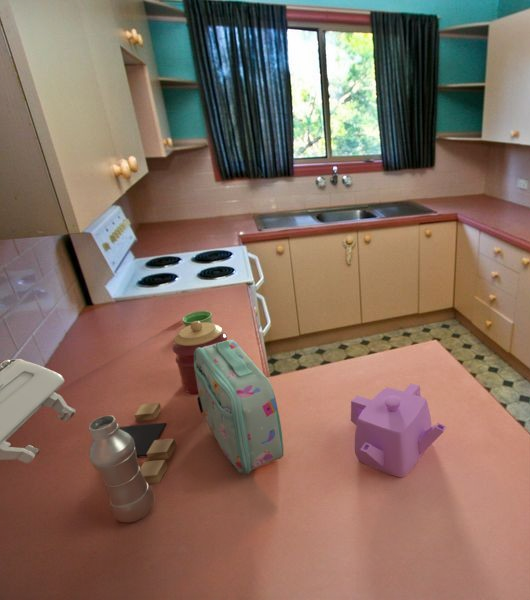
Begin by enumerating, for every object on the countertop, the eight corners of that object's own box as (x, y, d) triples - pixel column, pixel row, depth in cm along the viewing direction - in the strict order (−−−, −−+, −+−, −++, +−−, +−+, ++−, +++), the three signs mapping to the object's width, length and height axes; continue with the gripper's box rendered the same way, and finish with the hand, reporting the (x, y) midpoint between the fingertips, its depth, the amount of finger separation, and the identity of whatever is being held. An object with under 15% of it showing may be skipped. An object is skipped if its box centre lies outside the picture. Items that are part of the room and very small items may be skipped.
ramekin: (219, 327, 143) (216, 315, 141) (192, 337, 137) (189, 325, 135) (206, 319, 148) (204, 308, 147) (180, 329, 142) (177, 317, 140)
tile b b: (149, 461, 87) (146, 453, 86) (156, 447, 91) (154, 440, 90) (169, 459, 88) (166, 451, 87) (176, 445, 91) (174, 438, 90)
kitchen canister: (171, 391, 110) (153, 330, 102) (205, 364, 121) (191, 308, 114) (214, 398, 106) (199, 336, 99) (245, 370, 118) (233, 313, 111)
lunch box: (199, 420, 99) (177, 339, 90) (242, 401, 105) (226, 324, 96) (243, 490, 80) (220, 395, 71) (293, 462, 86) (278, 372, 77)
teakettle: (418, 414, 98) (417, 369, 93) (448, 467, 83) (450, 416, 78) (346, 432, 94) (341, 385, 89) (364, 491, 79) (360, 439, 74)
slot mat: (97, 461, 88) (96, 459, 88) (121, 428, 97) (120, 426, 97) (148, 456, 89) (147, 454, 88) (166, 424, 98) (166, 422, 98)
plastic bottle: (150, 490, 80) (119, 404, 72) (162, 512, 76) (130, 422, 68) (111, 511, 76) (73, 422, 68) (121, 535, 72) (82, 443, 64)
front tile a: (137, 484, 82) (134, 477, 81) (146, 469, 85) (144, 461, 84) (159, 482, 82) (156, 474, 81) (167, 467, 86) (165, 459, 85)
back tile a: (136, 421, 99) (134, 414, 98) (144, 411, 102) (142, 404, 102) (154, 420, 99) (152, 413, 98) (161, 409, 103) (159, 402, 102)
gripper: (2, 367, 73) (81, 407, 78) (-116, 453, 55) (-2, 499, 59) (19, 342, 72) (99, 385, 77) (-95, 421, 53) (19, 471, 58)
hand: (54, 435), depth 68 cm, fingers open, 8 cm apart
